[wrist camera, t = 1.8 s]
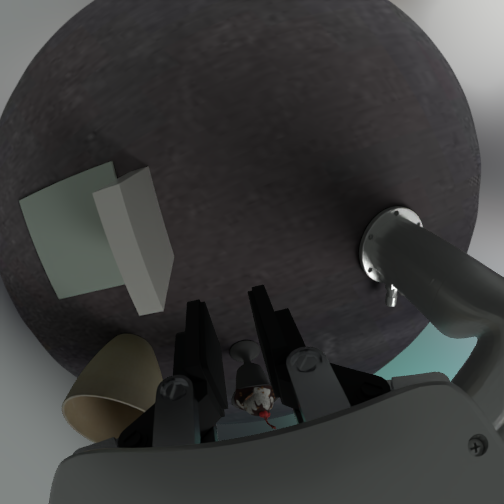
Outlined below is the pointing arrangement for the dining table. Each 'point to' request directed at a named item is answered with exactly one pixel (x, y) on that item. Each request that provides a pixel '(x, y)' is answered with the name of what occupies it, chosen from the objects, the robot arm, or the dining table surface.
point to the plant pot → (113, 389)
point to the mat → (73, 233)
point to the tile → (137, 238)
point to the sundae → (251, 382)
